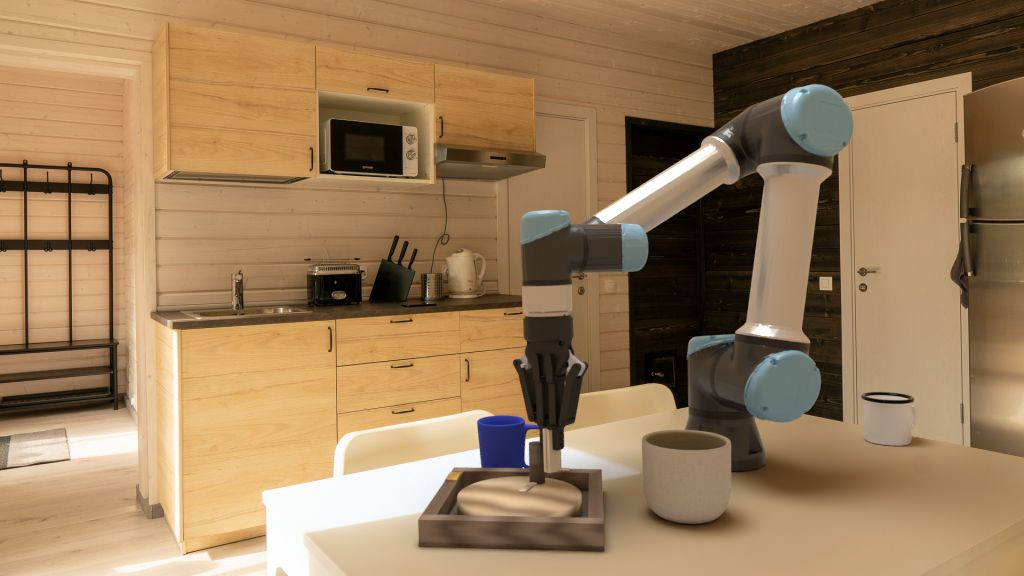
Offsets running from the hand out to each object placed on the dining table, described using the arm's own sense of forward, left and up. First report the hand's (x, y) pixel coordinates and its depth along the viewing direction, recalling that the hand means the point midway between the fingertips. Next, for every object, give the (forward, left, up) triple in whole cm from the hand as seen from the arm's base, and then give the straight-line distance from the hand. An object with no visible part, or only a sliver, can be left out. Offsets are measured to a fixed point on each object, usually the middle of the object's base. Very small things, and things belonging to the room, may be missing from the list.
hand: (552, 470), depth 107 cm
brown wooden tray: (+5, +5, -5) cm, 8 cm away
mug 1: (+8, -13, -6) cm, 16 cm away
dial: (+5, +5, -5) cm, 8 cm away
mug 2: (-65, -42, -6) cm, 78 cm away
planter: (-19, +3, -6) cm, 20 cm away
